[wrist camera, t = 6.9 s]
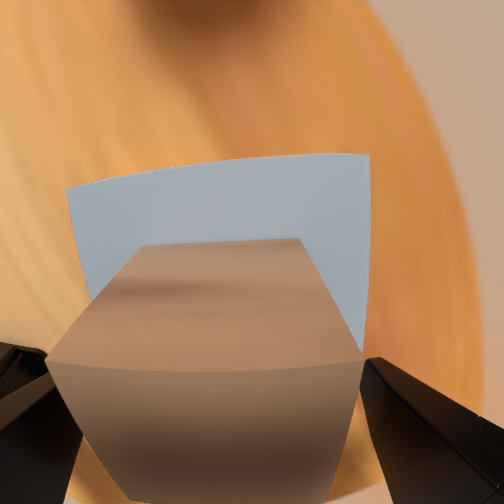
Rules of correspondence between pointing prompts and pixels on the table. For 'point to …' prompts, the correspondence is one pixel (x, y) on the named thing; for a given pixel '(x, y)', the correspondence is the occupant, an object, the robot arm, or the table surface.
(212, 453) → the walnut block
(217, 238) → the slate block
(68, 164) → the table surface
